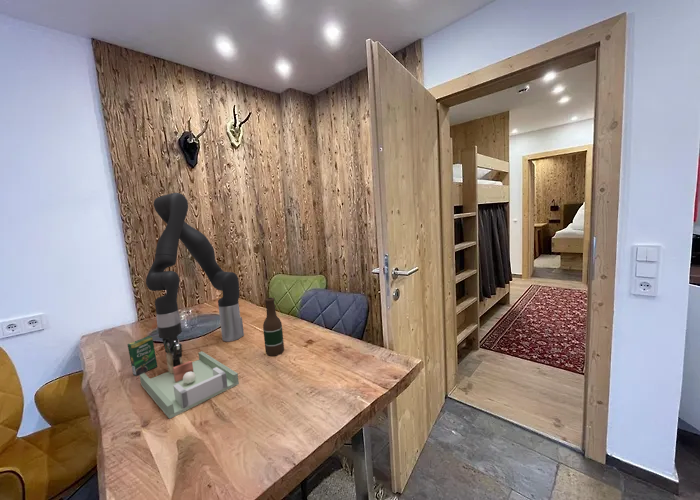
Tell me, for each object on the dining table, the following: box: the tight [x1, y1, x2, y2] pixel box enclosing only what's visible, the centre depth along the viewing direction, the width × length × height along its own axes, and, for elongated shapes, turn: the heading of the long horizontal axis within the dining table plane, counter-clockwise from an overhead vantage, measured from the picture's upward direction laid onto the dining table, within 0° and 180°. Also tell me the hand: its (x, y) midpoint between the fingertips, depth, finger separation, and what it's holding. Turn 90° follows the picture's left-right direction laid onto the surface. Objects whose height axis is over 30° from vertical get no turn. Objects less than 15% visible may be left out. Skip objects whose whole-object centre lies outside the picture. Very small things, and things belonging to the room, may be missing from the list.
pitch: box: [139, 350, 240, 420], centre depth 104 cm, size 22×30×4 cm
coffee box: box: [127, 335, 158, 377], centre depth 116 cm, size 8×3×13 cm, turn 150°
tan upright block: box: [165, 353, 193, 382], centre depth 110 cm, size 6×12×7 cm, turn 49°
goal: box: [173, 367, 228, 409], centre depth 97 cm, size 14×7×5 cm, turn 139°
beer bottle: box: [262, 297, 285, 357], centre depth 124 cm, size 8×8×24 cm
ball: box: [183, 372, 196, 384], centre depth 104 cm, size 4×4×4 cm
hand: (175, 365), depth 113 cm, fingers closed on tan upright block, 4 cm apart
